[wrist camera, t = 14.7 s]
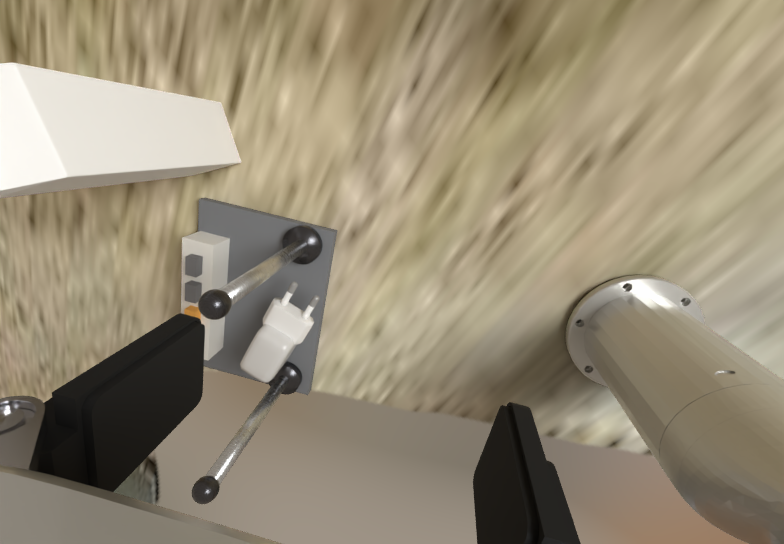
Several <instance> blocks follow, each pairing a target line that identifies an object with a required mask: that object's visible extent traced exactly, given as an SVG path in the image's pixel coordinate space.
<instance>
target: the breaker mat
mask: <svg viewBox="0 0 784 544" xmlns="http://www.w3.org/2000/svg"><path fill="white" fill-rule="evenodd" d="M299 225H306V226H309V227H312V228H313V229H315V230H316V231H317V232H318V234H319V235H320V237H321V239H322V244H323V247H322V251H321V254H320V255H319V257H318V258H316V259H315V260H314V261H313V262H311V263H309V264H304V265H302V264H297V263H295V262H293V261H292V262H290V263H289V264H287V265H286V266H285V267H283V268H282V269H281V270H279V271H278V272H277V273H275V274H274V275H273V276H271V277H270V278H269V279H267V280H266V281H265V282H263V283H262V284H260V285H259V286H258V287H256V288H255V289H254V290H252V291H251V292H250V293H248V294H247V295H246V296H244V297H243V298H242V299H240V300H239V301H237V302H236V303H235V304H233V305H232V307H231V310H230V312H229V313H228V314H227V315H226V316H225V317H223V318H221V319H217V320H211V319H208V318H206V317H204V316H203V315H202V314H201V313H200V311H199V308H198V302H199V299H200V297H201V296H202V295H203V294H204V293H205V292H207V291H209V290H212V289H220V288H222V287H223V286H225V285H227V284H228V283H230V282H231V281H233V280H234V279H236V278H238V277H239V276H241V275H242V274H244V273H246V272H247V271H249V270H250V269H252V268H254V267H255V266H257V265H258V264H260V263H262V262H263V261H265V260H266V259H268V258H270V257H271V256H273V255H274V254H276V253H278V252H279V251H281V250H282V249H283V246H282V241H283V237H284V235H285V234H286V232H287V231H288V230H290V229H292V228H294V227H296V226H299ZM336 234H337V230H334V229H330V228H325V227H321V226H317V225H313V224H309V223H305V222H301V221H297V220H293V219H289V218H285V217H281V216H277V215H273V214H269V213H265V212H261V211H257V210H253V209H249V208H245V207H241V206H237V205H233V204H229V203H225V202H221V201H216V200H212V199H208V198H201V199H199V216H198V232H196V233H193V234H190V235H188V236H185V237H182V282H181V314H186V315H189V316H193V317H197V318H199V319H200V320H201V324H203V325H204V326H205V342H204V366H205V367H209V368H213V369H216V370H220V371H223V372H227V373H231V374H234V375H238V376H241V377H245V378H249V379H253V380H256V381H259V380H257V379H256V378H254V377H252V376H251V375H249V374H248V373H246V372H245V371H243V370H242V369H241V367H240V363H241V361H242V359H243V357H244V355H245V353H246V351H247V349H248V347H249V345H250V344H251V342H252V340H253V338H254V337H255V335H256V333H257V332H258V330H259V329H260V328H261V327H262V326H263V317H264V315H265V313H266V311H267V309H268V308H269V306H270V304H271V302H272V300H273V299H274V298H283V297H284V296H285V294H286V292H287V290H288V288H289V286H290V284H291V283H292V282H293V281H295V282H297V283H298V286H297V288H296V290H295V292H294V293H293V294H292V296H291V298H290V300H289V302H290V303H291V304H293V305H295V306H296V307H298V308H299V309H301V310H302V311H305V310H306V308H307V307H308V305H309V303H310V301H311V299H312V298H313V296H314V295H317V296H319V298H320V299H319V301H318V303H317V304H316V306H315V307H314V309H313V310H312V312H311V314H310V316H311V317H312V318H313V321H314V324H313V326H312V327H311V329H310V331H309V332H308V334H307V336H306V337H305V339H304V340H303V342H302V343H300V344H297V345H296V347H295V349H294V350H293V352H292V353H291V355H290V356H289V358H288V359H287V361H288V362H291V363H293V364H294V365H296V366H297V367H298V368H299V369H300V371H301V373H302V382H301V384H300V386H299V387H298V389H297V390H296V391H295V392H299V393H302V394H306V395H308V394H309V392H310V390H311V385H312V379H313V373H314V367H315V361H316V355H317V349H318V343H319V337H320V331H321V325H322V319H323V313H324V307H325V301H326V295H327V289H328V282H329V276H330V270H331V264H332V258H333V252H334V246H335V240H336ZM259 382H261V381H259ZM266 384H269V383H266Z"/></svg>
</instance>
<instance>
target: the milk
mask: <svg viewBox="0 0 784 544" xmlns="http://www.w3.org/2000/svg"><path fill="white" fill-rule="evenodd" d="M239 163H241V160H240V157H239V154H238V151H237V148H236V145H235V142H234V139H233V136H232V133H231V130H230V127H229V124H228V121H227V118H226V115H225V112H224V109H223V106H222V104H221V102H217V101H211V100H206V99H201V98H196V97H191V96H185V95H180V94H175V93H170V92H164V91H159V90H154V89H149V88H143V87H138V86H133V85H128V84H122V83H117V82H112V81H107V80H101V79H96V78H91V77H86V76H80V75H75V74H70V73H65V72H59V71H54V70H49V69H44V68H38V67H33V66H28V65H23V64H17V63H2V64H0V198H7V197H15V196H24V195H32V194H41V193H49V192H58V191H67V190H75V189H84V188H92V187H101V186H109V185H118V184H126V183H135V182H143V181H152V180H160V179H169V178H177V177H186V176H194V175H197V174H201V173H205V172H209V171H212V170H216V169H220V168H224V167H227V166H231V165H235V164H239Z"/></svg>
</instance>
